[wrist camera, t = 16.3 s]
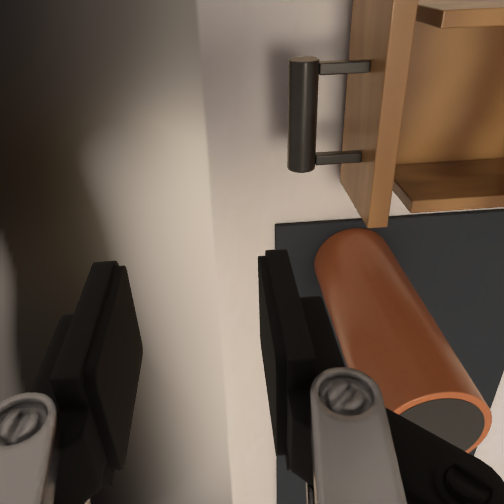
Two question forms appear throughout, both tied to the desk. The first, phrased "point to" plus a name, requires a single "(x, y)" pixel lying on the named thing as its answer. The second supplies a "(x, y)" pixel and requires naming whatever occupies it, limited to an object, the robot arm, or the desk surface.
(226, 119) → the desk surface
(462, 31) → the drawer
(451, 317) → the desk mat
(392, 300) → the pen holder
